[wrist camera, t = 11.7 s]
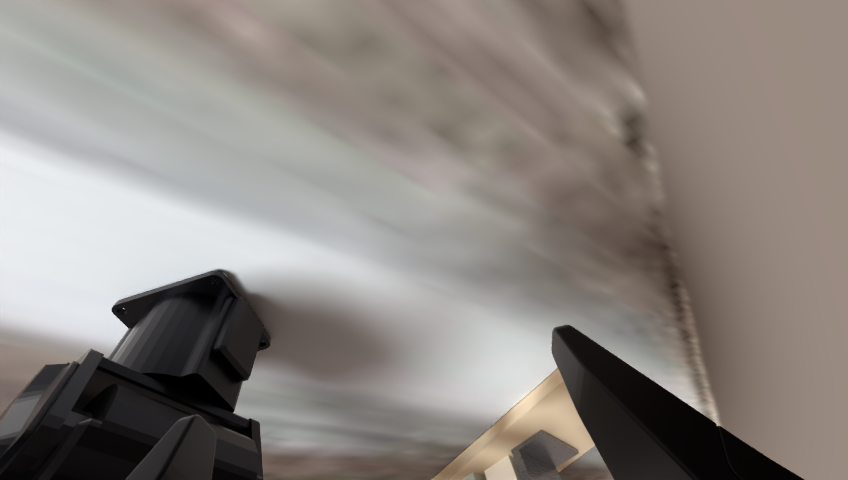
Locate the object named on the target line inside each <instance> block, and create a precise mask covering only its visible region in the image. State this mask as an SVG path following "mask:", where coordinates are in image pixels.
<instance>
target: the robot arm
mask: <svg viewBox="0 0 848 480" xmlns="http://www.w3.org/2000/svg"><path fill="white" fill-rule="evenodd" d="M212 278H216V279H218V280H219V281H215V280H213V279H212ZM123 308H125V309H126V310H125V309H123ZM112 312H113V314H114V315H115V316H116V317H117V318H119V319H120V320H121V321H122V322H123V323H124V324H125V325H126V326H127V327H128V328H129V329H128V331H127V332H126V334H125V335H124V336H123V338H122V339H121V341H120V342H119V343H118V345H117V346H116V348H115V349H114V351H113V352H112V353H111V355H110V356H109V358H108V359H107V358H105V357H103V356H104V354H102V353H99V352H97V351H95V350H93V349H90V350H89V351H88V352H87V353H86V354H84V355H83V356H82V357H81V358H80V359H79V360H78V361H77V362H75V361H73V362H72V363H69V362H68V363H67V364H55V365H45V366H44V367H43V368H42V369H41V370H40V371H39V372H38V373H37V374H36V375H35V376H34V378H33V379H32V380H31V381H30V382H29V383H28V384H27V385H26V387H25V388H24V389H23V390H22V391H21V392H20V393H19V395H18V396H17V397H16V398H15V399H14V400H13V402H12V403H11V404H10V405H9V406H8V407H7V409H6V410H5V411H4V412H3V414H2V415H1V416H0V480H263V469H262V453H261V438H260V423H259V422H258V421H255V420H253V419H251V418H250V419H246V418H243V417H241V416H239V415H236V414H234V413H233V412H234V410H235V406H236V403H237V399H238V396H239V393H240V389H241V386H242V382H243V381H246V380H248V379H249V377H250V375H251V371H252V368H253V364H254V360H255V357H256V353H257V351H260V350H263V349H266V348H268V347H269V346H270V342H271V338H270V336H269V335H268V333H267V332H266V331H265V329H264V328H263V327H264V325H263V324H262V322H261V321H260V319H259V318H258V317H257V315H256V314H255V312H254V311H253V310H252V308H251V307H250V306H249V304H248V303H247V301H246V300H245V299H244V298H242V297H241V296H240V295H239V293H238V292H237V291H236V289H235V288H234V286H233V285H232V284H231V282H230V281H229V280H228V278H227V277H226V275H225V274H224V273H222V272H220V271H211V272H208V273H205V274H201V275H198V276H195V277H192V278H189V279H186V280H182V281H179V282H176V283H173V284H170V285H166V286H163V287H160V288H157V289H154V290H151V291H147V292H144V293H141V294H138V295H135V296H132V297H128V298H125V299H122V300H119V301H117V302H116V303H115V305H114V306H113V307H112ZM260 341H264V342H260ZM552 354H553V357H554V360H555V362H556V364H557V367H558V369H559V371H560V374H561V376H562V378H563V381H564V383H565V385H566V388H567V390H568V392H569V394H570V397H571V399H572V401H573V404H574V406H575V408H576V411H577V413H578V415H579V417H580V419H581V421H582V422H583V424H584V426H585V428H586V430H587V432H588V433H589V435H590V437H591V439H592V440H593V442H594V444H595V446H596V448H597V449H598V451H599V453H600V455H601V457H602V458H603V460H604V462H605V464H606V465H607V467H608V469H609V471H610V473H611V474H612V476H613V478H614V480H804V479H802V478H801V477H799V476H798V475H796V474H794V473H793V472H791V471H789V470H787V469H786V468H784V467H783V466H781V465H779V464H777V463H776V462H774V461H772V460H771V459H769V458H768V457H766V456H765V455H763V454H762V453H760V452H759V451H757V450H756V449H754V448H752V447H751V446H749V445H748V444H746V443H745V442H743V441H742V440H740V439H739V438H737V437H736V436H734V435H733V434H731V433H730V432H728V431H727V430H725V429H724V428H722V427H721V426H717V425H716V423H715V422H713V421H712V420H710V419H709V418H707V417H706V416H704V415H703V414H701V413H700V412H698V411H697V410H695V409H694V408H692V407H691V406H689V405H688V404H686V403H685V402H683V401H682V400H680V399H679V398H678V397H676V396H675V395H673V394H672V393H670V392H669V391H667V390H666V389H664V388H663V387H661V386H660V385H658V384H657V383H655V382H654V381H652V380H651V379H649V378H648V377H646V376H645V375H643V374H642V373H640V372H639V371H637V370H636V369H634V368H633V367H631V366H630V365H629V364H627V363H626V362H624V361H623V360H621V359H620V358H618V357H617V356H615V355H614V354H612V353H611V352H609V351H608V350H606V349H605V348H603V347H602V346H600V345H599V344H597V343H596V342H594V341H593V340H591V339H590V338H588V337H587V336H585V335H584V334H582V333H581V332H580V331H578V330H577V329H575V328H574V327H572V326H570V325H564V326H560V327H556V328H554V329H553V332H552Z"/></svg>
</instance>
